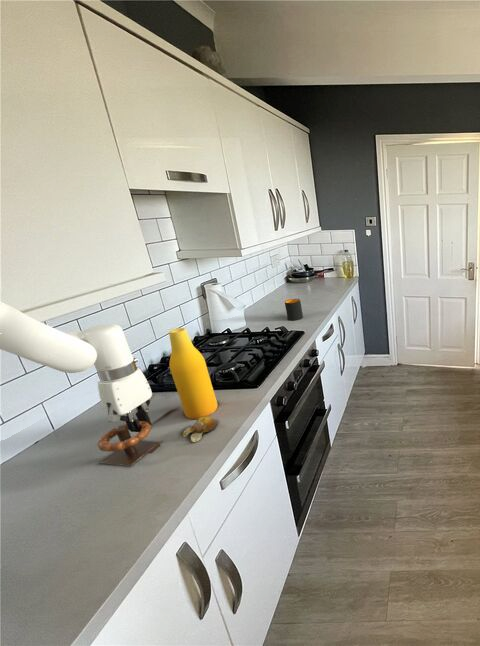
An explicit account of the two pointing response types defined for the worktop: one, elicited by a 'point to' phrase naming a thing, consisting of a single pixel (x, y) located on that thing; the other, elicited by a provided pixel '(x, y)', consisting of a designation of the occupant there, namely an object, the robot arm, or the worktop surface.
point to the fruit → (200, 428)
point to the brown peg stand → (130, 450)
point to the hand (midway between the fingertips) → (140, 427)
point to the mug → (293, 309)
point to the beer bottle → (191, 376)
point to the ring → (125, 444)
